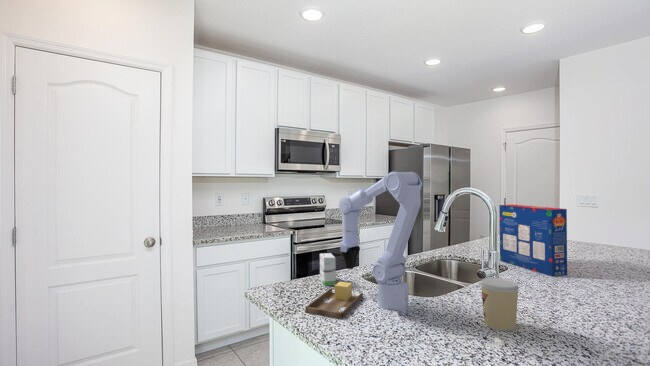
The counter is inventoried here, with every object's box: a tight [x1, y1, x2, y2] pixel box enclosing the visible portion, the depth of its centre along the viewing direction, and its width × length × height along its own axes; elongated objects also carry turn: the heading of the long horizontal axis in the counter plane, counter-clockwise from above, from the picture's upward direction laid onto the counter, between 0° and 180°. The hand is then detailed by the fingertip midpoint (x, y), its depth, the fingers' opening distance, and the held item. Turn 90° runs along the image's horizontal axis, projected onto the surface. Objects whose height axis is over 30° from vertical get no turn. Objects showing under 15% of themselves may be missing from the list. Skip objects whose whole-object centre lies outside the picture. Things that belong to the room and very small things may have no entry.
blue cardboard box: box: [498, 204, 568, 277], centre depth 148 cm, size 28×8×28 cm, turn 14°
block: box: [334, 281, 353, 301], centre depth 110 cm, size 4×4×4 cm
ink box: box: [319, 252, 337, 287], centre depth 127 cm, size 9×5×12 cm, turn 12°
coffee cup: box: [480, 277, 520, 332], centre depth 90 cm, size 9×9×12 cm
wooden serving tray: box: [304, 287, 364, 320], centre depth 104 cm, size 12×19×3 cm, turn 155°
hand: (350, 267), depth 116 cm, fingers closed
